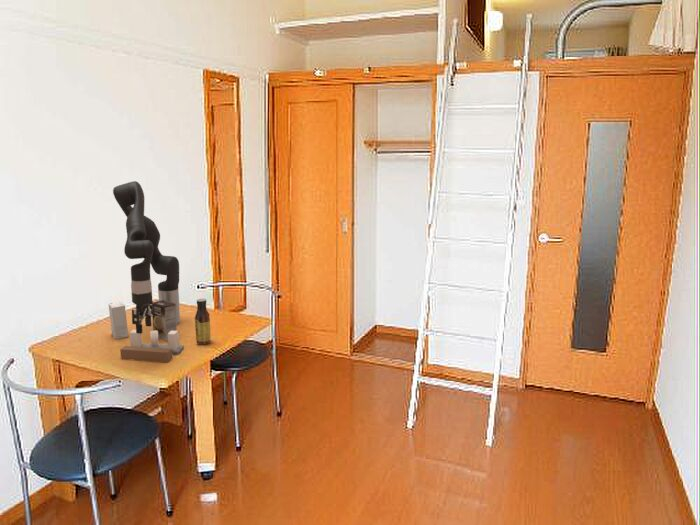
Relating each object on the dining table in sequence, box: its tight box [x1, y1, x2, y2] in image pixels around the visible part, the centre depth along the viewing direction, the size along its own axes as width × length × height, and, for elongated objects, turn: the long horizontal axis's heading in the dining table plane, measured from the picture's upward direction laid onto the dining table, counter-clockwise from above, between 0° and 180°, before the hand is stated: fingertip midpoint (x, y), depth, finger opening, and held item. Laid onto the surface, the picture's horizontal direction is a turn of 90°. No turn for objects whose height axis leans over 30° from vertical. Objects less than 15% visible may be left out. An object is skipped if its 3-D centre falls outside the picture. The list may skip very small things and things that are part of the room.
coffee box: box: [151, 300, 178, 342], centre depth 239 cm, size 9×6×16 cm
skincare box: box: [108, 301, 129, 340], centre depth 240 cm, size 8×6×15 cm
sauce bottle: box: [194, 298, 212, 345], centre depth 233 cm, size 6×6×20 cm
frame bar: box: [120, 345, 173, 363], centre depth 217 cm, size 4×20×4 cm, turn 83°
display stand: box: [129, 328, 185, 356], centre depth 224 cm, size 7×22×8 cm, turn 87°
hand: (144, 329), depth 214 cm, fingers open, 8 cm apart
